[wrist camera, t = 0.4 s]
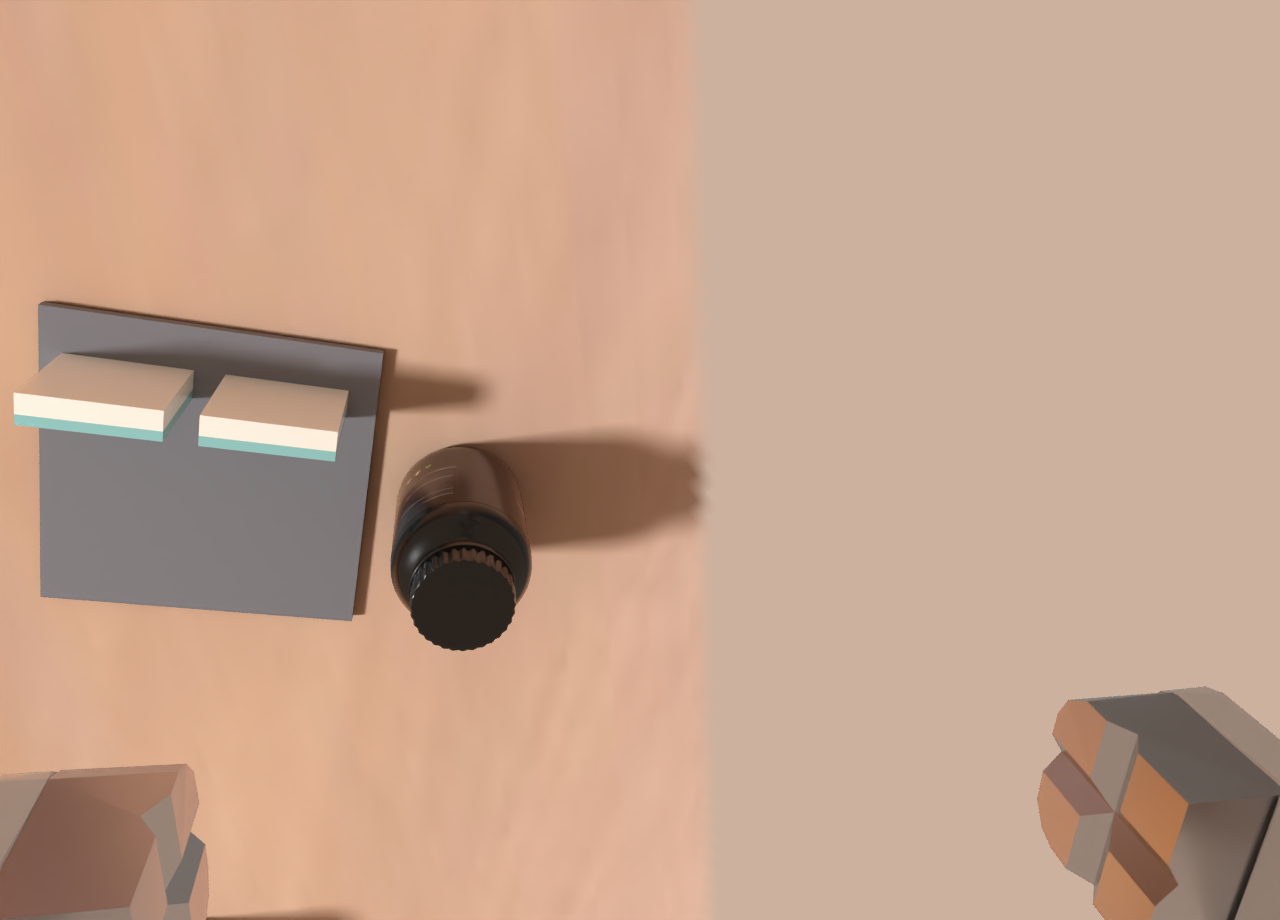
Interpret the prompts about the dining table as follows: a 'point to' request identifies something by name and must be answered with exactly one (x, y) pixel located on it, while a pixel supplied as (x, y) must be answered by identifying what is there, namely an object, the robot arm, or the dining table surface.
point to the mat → (205, 480)
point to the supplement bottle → (460, 547)
